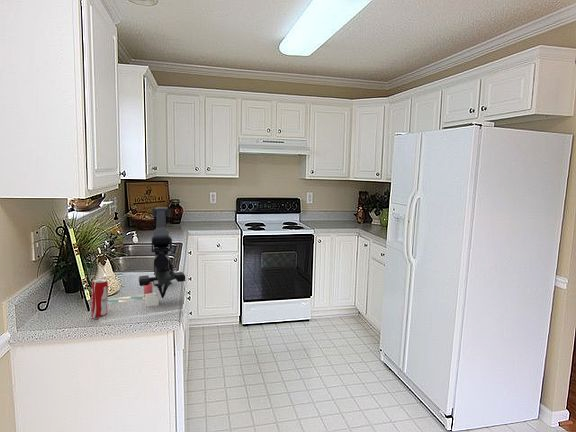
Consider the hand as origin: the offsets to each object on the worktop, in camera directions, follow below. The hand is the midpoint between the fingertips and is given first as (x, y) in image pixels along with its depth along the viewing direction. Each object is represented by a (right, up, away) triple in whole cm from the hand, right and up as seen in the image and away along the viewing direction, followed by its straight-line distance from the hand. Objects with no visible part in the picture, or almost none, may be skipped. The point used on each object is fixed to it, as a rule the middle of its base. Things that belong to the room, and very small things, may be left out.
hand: (162, 297), depth 166 cm
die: (-4, -3, -1) cm, 6 cm away
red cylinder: (-9, -1, +7) cm, 11 cm away
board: (-16, -2, +4) cm, 16 cm away
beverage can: (-21, -5, -13) cm, 25 cm away
